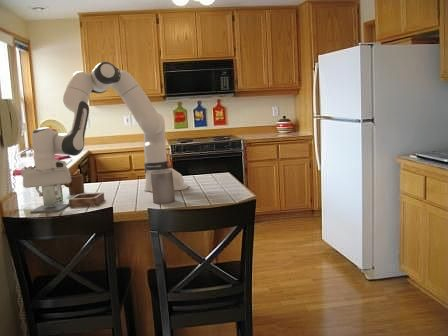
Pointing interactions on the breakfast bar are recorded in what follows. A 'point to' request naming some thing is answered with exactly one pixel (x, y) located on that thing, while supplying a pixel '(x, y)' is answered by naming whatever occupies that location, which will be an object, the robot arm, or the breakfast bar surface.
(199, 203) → the breakfast bar surface
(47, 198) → the jug
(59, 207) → the charcoal mat
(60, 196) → the syrup box
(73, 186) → the mug
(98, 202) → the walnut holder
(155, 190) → the pillar candle
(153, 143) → the robot arm
